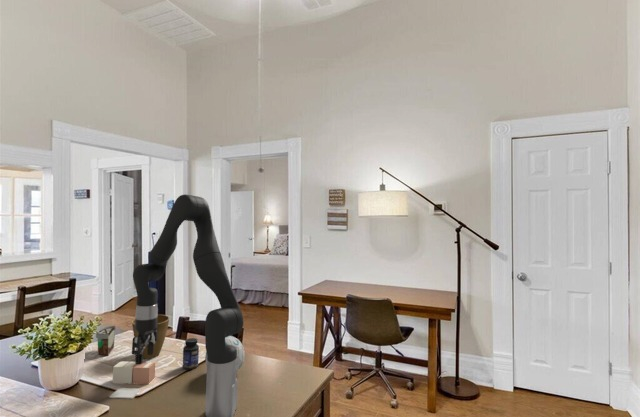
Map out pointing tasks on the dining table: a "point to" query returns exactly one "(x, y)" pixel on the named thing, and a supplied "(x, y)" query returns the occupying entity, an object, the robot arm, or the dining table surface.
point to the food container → (105, 340)
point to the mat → (125, 393)
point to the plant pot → (162, 330)
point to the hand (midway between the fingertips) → (144, 359)
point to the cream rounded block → (123, 372)
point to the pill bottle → (190, 354)
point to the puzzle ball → (240, 350)
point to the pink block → (144, 373)
